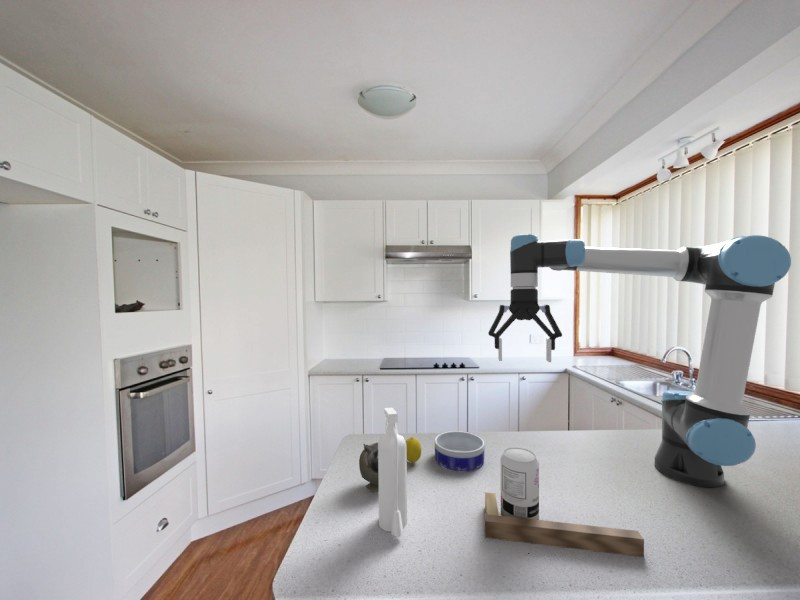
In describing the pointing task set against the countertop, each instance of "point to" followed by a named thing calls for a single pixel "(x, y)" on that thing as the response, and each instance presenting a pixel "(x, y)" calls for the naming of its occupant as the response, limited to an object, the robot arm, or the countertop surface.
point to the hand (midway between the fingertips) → (524, 360)
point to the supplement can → (519, 484)
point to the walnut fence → (560, 533)
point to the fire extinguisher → (392, 477)
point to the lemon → (413, 449)
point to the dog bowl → (459, 451)
